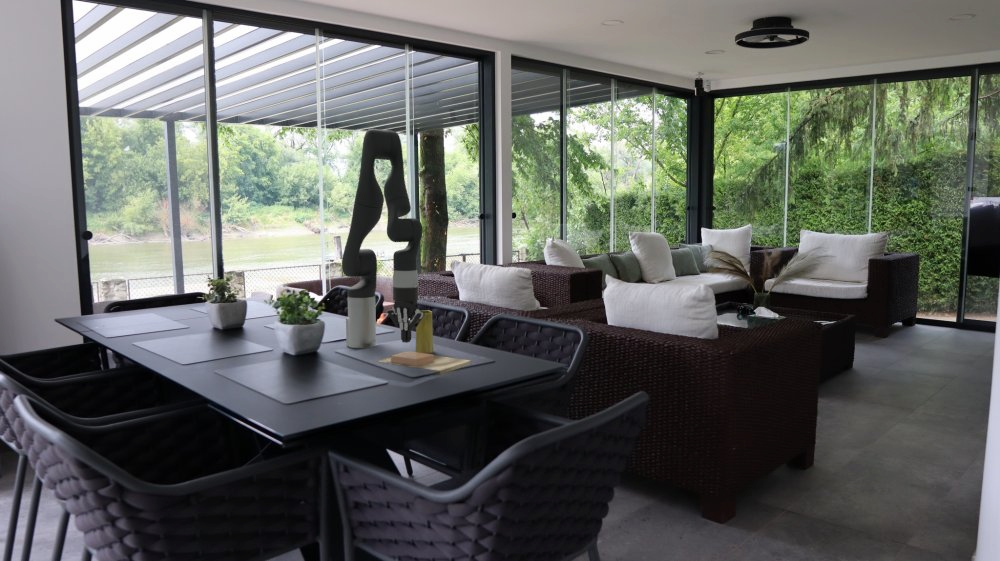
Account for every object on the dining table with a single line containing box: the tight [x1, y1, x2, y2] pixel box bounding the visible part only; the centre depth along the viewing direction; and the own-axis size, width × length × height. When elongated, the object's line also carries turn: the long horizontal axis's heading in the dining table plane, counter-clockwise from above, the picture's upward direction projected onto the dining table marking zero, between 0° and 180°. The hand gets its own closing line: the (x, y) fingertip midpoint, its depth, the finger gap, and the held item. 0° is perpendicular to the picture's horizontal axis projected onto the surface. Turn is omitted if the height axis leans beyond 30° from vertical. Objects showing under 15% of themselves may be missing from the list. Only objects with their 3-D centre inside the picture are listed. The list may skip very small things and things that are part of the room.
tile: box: [390, 350, 435, 366], centre depth 220 cm, size 2×8×10 cm
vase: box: [415, 310, 435, 354], centre depth 234 cm, size 6×6×14 cm
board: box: [375, 355, 472, 376], centre depth 221 cm, size 24×16×1 cm, turn 59°
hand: (406, 342), depth 220 cm, fingers closed
